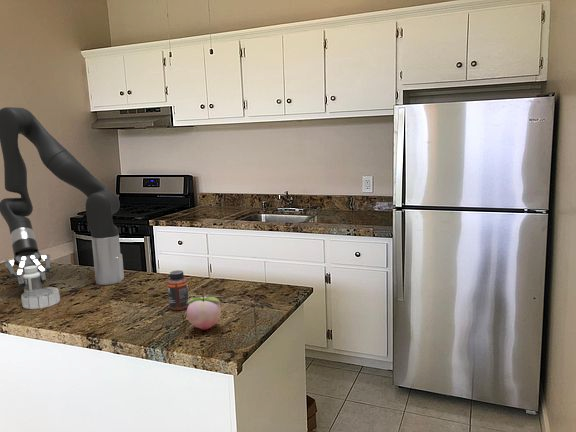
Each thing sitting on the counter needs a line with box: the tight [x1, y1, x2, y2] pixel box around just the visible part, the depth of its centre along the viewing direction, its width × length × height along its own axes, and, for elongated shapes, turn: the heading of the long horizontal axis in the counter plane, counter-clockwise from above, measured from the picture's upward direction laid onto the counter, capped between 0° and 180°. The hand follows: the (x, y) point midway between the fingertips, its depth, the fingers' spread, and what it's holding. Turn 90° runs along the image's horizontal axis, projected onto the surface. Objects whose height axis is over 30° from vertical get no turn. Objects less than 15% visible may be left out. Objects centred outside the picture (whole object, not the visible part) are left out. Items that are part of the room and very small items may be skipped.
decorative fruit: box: [186, 293, 222, 330], centre depth 124 cm, size 9×8×10 cm
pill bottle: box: [22, 266, 43, 293], centre depth 156 cm, size 5×5×10 cm
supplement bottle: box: [167, 270, 190, 311], centre depth 141 cm, size 6×6×11 cm
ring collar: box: [20, 286, 61, 310], centre depth 148 cm, size 10×10×4 cm
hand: (33, 284), depth 155 cm, fingers closed on pill bottle, 5 cm apart
